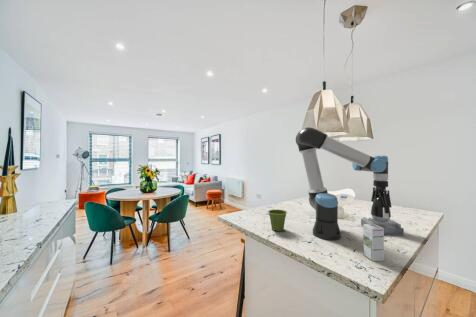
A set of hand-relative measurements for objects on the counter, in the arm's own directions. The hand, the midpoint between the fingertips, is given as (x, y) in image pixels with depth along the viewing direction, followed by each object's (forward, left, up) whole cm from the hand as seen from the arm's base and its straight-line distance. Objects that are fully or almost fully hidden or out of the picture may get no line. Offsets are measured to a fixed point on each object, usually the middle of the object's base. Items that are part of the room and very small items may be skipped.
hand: (380, 215), depth 123 cm
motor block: (0, +2, -9) cm, 9 cm away
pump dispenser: (0, 0, -3) cm, 3 cm away
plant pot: (-64, -10, -9) cm, 65 cm away
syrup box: (-23, -39, -9) cm, 46 cm away
